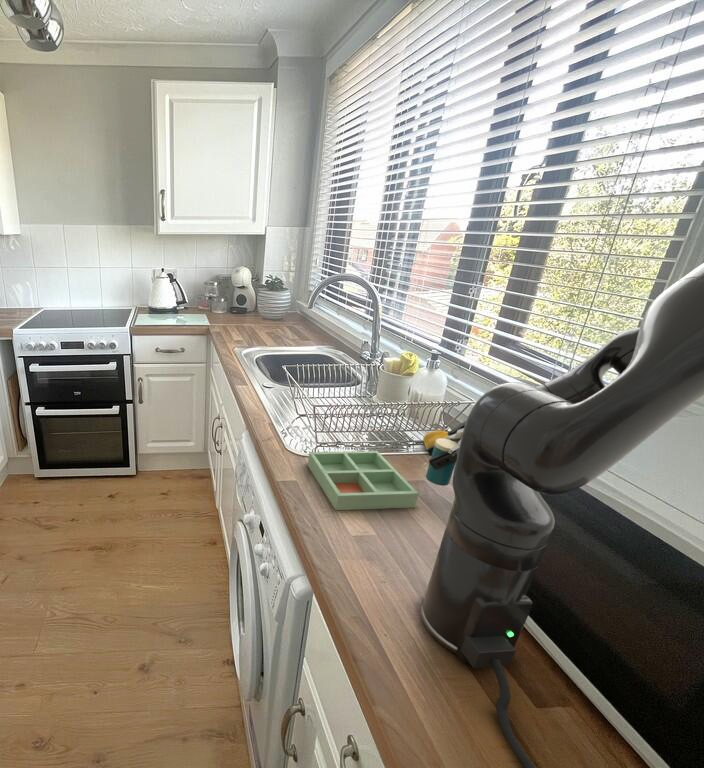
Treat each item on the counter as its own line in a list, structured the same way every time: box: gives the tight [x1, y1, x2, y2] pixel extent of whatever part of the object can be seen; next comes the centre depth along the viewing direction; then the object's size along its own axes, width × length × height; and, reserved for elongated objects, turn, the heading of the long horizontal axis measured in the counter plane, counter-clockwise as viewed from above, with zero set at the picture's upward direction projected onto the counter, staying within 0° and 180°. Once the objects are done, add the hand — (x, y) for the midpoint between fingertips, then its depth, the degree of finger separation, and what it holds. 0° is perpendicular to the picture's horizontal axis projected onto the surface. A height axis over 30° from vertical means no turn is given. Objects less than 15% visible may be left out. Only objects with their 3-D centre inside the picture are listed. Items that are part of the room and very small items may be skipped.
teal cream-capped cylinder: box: [425, 439, 458, 487], centre depth 79 cm, size 4×4×8 cm
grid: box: [307, 450, 419, 511], centre depth 83 cm, size 15×15×3 cm
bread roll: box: [422, 430, 449, 450], centre depth 97 cm, size 8×9×4 cm
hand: (431, 459), depth 79 cm, fingers closed on teal cream-capped cylinder, 4 cm apart
